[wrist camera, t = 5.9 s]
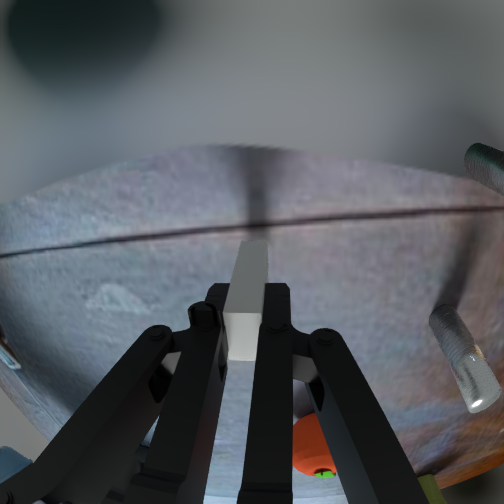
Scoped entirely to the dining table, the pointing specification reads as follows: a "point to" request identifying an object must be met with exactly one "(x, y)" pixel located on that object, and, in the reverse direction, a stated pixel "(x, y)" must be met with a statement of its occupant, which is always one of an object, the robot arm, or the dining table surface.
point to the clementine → (311, 449)
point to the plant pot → (431, 489)
